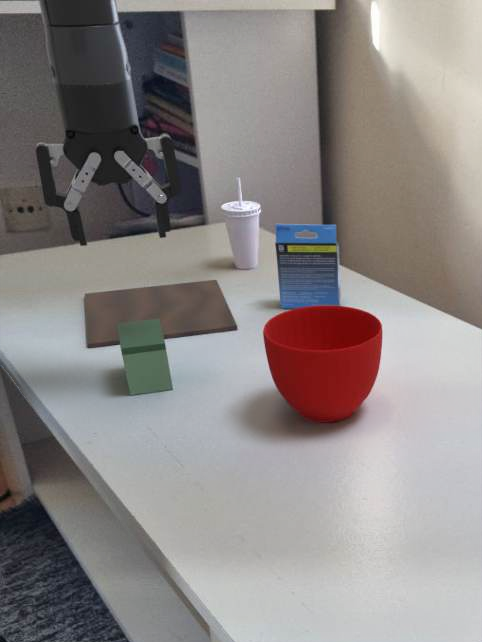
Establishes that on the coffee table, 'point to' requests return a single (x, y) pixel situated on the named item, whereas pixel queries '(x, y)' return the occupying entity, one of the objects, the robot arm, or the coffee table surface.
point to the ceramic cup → (324, 359)
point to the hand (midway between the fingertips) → (123, 239)
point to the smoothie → (243, 230)
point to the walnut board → (158, 310)
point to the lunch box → (144, 356)
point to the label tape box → (307, 266)
